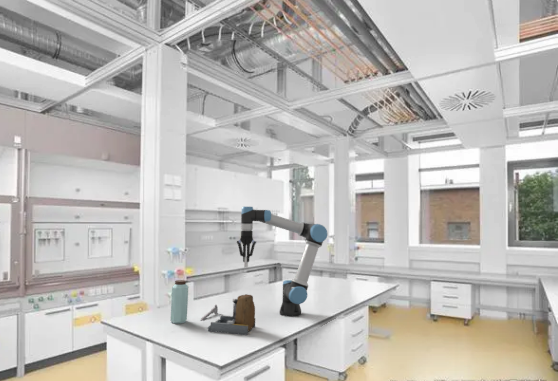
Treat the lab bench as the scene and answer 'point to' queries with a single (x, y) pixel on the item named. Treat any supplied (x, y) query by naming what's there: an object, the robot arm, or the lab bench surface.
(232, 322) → the bar
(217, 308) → the caliper
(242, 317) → the brown stone
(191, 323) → the lab bench surface
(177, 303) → the water bottle
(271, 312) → the lab bench surface
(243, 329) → the bay
